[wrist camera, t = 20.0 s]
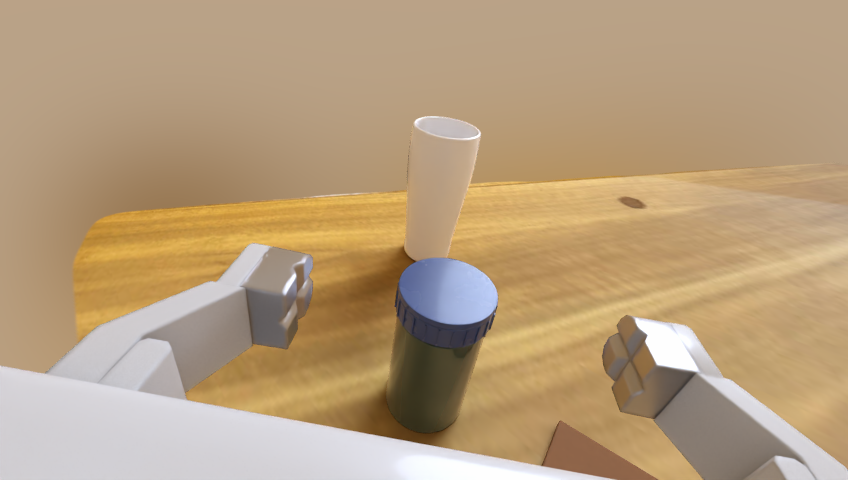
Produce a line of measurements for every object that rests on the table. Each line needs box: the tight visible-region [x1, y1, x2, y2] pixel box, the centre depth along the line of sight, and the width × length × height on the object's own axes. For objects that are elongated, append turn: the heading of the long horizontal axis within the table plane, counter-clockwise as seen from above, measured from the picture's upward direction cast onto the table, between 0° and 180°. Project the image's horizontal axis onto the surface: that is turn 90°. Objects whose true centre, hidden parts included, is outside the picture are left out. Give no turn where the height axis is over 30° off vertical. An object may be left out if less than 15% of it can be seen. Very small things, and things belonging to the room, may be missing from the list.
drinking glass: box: [404, 116, 481, 261], centre depth 41 cm, size 7×7×15 cm
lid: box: [395, 258, 498, 348], centre depth 24 cm, size 6×6×2 cm
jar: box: [386, 317, 484, 433], centre depth 26 cm, size 6×6×11 cm
